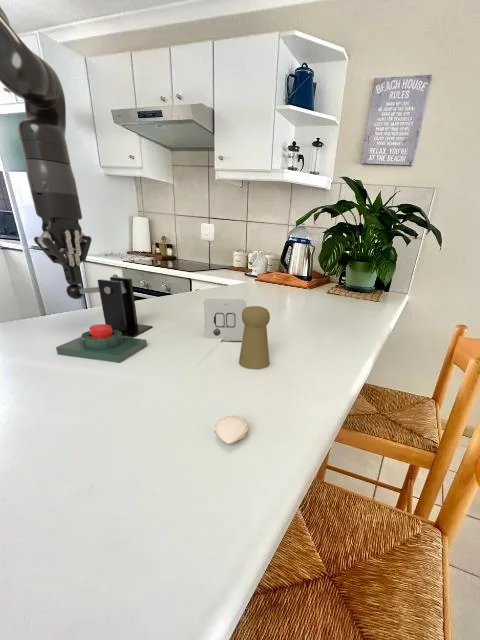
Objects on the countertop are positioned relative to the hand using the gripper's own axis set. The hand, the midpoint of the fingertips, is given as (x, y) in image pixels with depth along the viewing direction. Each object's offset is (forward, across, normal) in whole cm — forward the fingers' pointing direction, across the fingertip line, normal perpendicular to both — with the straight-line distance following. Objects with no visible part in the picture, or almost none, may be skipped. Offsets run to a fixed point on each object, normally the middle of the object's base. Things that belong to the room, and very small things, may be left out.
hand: (74, 284), depth 69 cm
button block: (+10, +12, +14) cm, 21 cm away
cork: (+10, +7, +42) cm, 43 cm away
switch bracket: (+10, 0, +10) cm, 14 cm away
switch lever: (+2, 0, +5) cm, 5 cm away
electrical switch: (+10, -5, +32) cm, 34 cm away
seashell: (+10, +32, +45) cm, 56 cm away
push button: (+6, +12, +14) cm, 19 cm away
